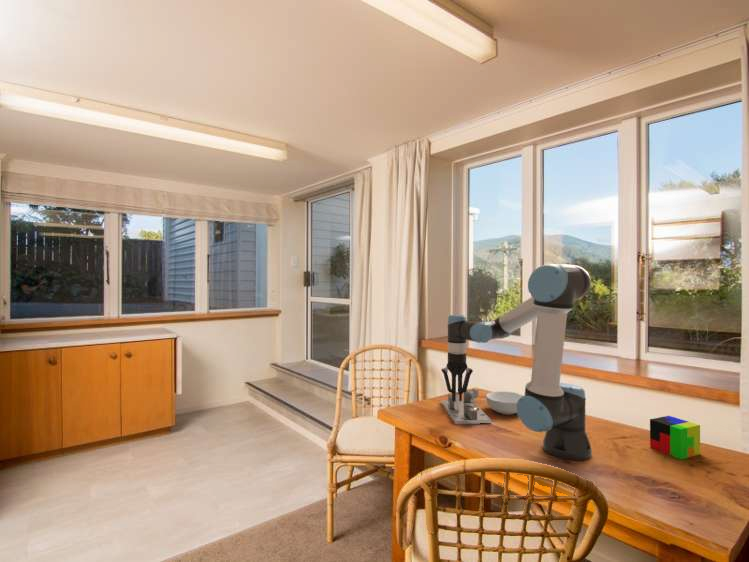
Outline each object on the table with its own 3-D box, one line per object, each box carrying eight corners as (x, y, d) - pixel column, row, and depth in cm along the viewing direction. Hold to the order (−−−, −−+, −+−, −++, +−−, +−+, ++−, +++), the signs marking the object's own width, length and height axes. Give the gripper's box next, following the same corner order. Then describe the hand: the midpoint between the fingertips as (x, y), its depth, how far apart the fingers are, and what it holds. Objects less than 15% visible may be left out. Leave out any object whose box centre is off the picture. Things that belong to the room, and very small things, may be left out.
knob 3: (462, 413, 170) (462, 403, 170) (472, 412, 170) (472, 402, 170) (468, 421, 160) (468, 410, 160) (479, 420, 160) (479, 410, 160)
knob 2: (470, 403, 184) (470, 393, 184) (461, 401, 187) (461, 391, 187) (480, 398, 191) (480, 389, 191) (472, 396, 194) (471, 387, 194)
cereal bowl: (478, 409, 180) (478, 393, 180) (506, 404, 187) (506, 389, 187) (505, 420, 165) (505, 404, 165) (534, 414, 172) (533, 398, 172)
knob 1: (460, 408, 175) (460, 399, 175) (450, 409, 175) (450, 399, 175) (455, 402, 185) (454, 392, 185) (445, 402, 185) (445, 393, 185)
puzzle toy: (668, 443, 141) (668, 415, 141) (700, 454, 132) (700, 425, 132) (650, 447, 138) (649, 419, 138) (681, 459, 128) (680, 429, 128)
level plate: (491, 423, 162) (490, 418, 162) (455, 424, 161) (455, 419, 161) (471, 402, 190) (471, 398, 190) (441, 403, 189) (441, 398, 189)
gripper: (469, 350, 165) (469, 405, 166) (439, 350, 165) (439, 406, 165) (475, 353, 158) (475, 411, 158) (443, 354, 157) (443, 412, 158)
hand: (456, 408), depth 162 cm, fingers closed
